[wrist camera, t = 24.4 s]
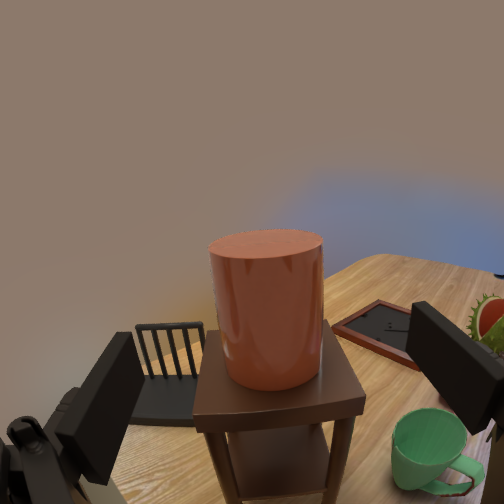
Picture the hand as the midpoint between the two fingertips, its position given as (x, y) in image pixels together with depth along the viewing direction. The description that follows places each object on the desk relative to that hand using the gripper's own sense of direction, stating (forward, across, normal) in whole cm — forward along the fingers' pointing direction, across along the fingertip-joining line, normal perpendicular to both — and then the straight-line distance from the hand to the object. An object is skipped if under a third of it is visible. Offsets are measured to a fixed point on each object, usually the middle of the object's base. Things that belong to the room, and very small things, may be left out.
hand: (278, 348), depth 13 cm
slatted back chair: (+32, -16, -31) cm, 48 cm away
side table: (+10, 0, -31) cm, 33 cm away
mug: (+6, +19, -32) cm, 38 cm away
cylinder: (+10, 0, -7) cm, 12 cm away
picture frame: (+46, +33, -31) cm, 65 cm away
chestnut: (+29, +50, -31) cm, 66 cm away
